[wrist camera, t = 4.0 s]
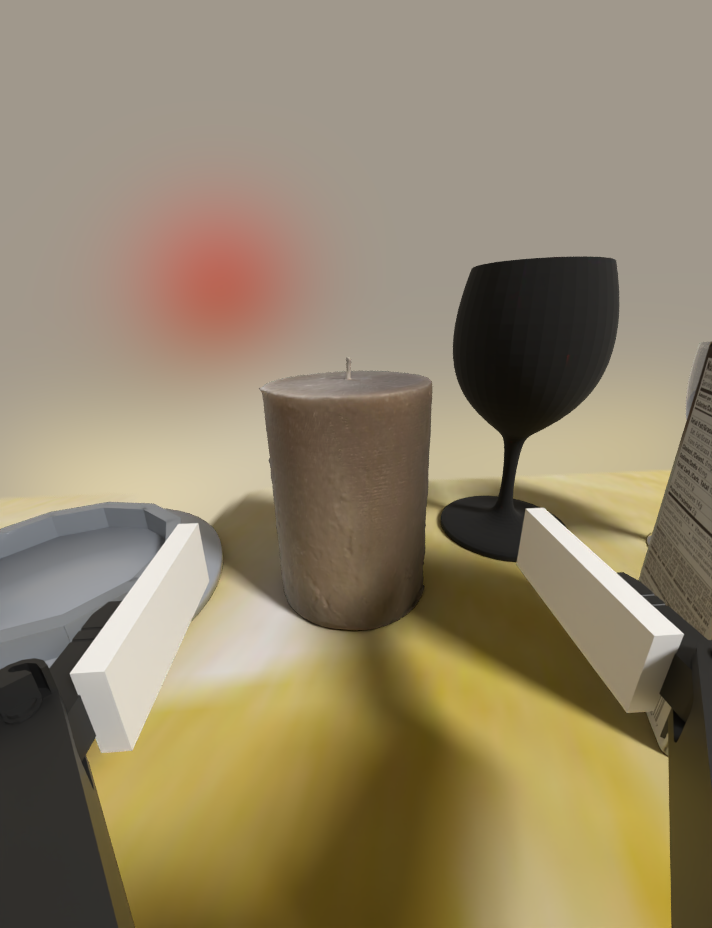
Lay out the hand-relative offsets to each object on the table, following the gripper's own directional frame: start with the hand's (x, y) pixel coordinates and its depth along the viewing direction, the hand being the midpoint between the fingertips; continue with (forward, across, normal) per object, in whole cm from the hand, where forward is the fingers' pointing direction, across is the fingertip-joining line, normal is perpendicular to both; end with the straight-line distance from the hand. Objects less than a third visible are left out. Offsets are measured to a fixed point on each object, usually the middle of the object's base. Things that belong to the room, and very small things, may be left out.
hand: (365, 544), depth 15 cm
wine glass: (+14, +13, -9) cm, 21 cm away
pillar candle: (+9, 0, -9) cm, 12 cm away
